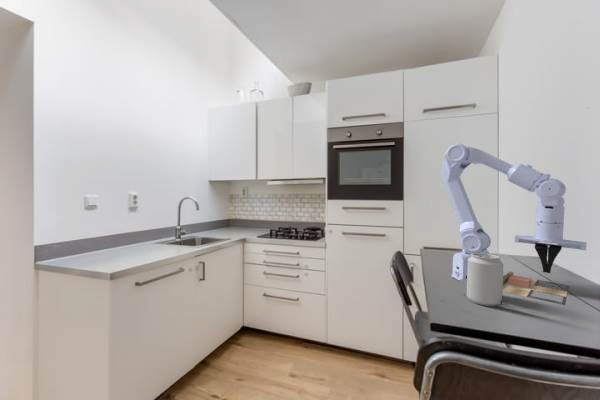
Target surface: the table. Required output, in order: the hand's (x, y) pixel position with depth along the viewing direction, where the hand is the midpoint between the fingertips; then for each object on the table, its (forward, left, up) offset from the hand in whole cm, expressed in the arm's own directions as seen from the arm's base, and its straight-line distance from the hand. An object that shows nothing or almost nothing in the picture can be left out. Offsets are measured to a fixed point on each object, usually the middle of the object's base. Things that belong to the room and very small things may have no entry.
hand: (546, 272), depth 76 cm
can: (-21, -6, -7) cm, 23 cm away
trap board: (-2, +2, -7) cm, 7 cm away
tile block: (-4, +4, -5) cm, 8 cm away
